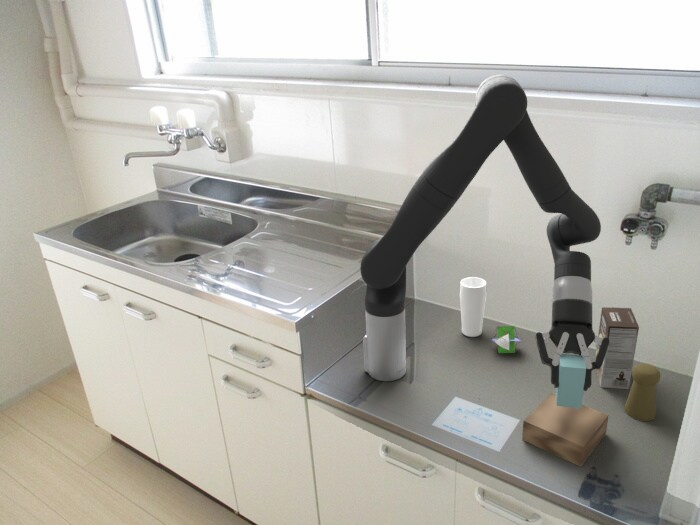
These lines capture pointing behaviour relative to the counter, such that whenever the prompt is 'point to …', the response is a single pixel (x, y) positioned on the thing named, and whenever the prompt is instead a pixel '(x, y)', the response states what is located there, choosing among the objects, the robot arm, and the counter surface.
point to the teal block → (571, 381)
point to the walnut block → (565, 429)
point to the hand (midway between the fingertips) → (570, 388)
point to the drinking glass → (472, 305)
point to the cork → (643, 393)
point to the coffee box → (617, 347)
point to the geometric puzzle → (506, 339)
